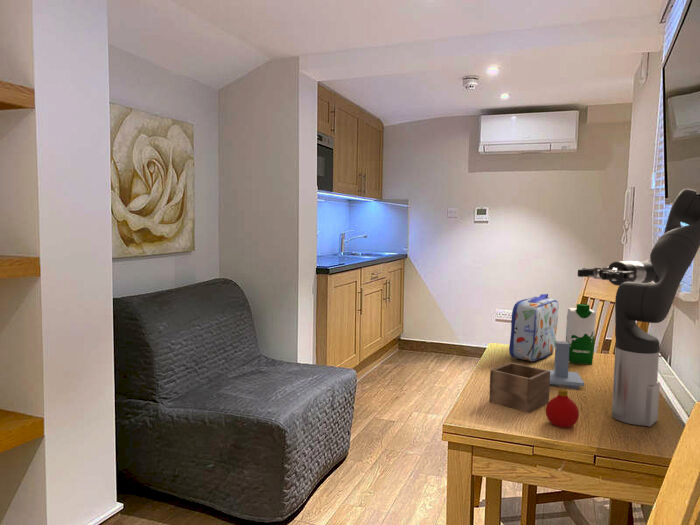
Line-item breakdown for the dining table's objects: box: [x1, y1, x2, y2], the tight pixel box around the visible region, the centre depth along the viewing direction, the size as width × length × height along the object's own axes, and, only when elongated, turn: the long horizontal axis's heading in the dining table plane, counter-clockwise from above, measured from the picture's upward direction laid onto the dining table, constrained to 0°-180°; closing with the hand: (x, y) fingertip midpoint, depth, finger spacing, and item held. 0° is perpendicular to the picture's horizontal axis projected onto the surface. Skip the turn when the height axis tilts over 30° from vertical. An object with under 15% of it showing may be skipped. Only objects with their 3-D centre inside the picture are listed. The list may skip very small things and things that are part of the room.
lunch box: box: [508, 293, 559, 362], centre depth 185 cm, size 28×10×22 cm, turn 143°
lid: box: [548, 340, 585, 390], centre depth 154 cm, size 11×11×12 cm
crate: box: [488, 362, 551, 414], centre depth 135 cm, size 11×11×9 cm
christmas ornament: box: [545, 385, 580, 429], centre depth 121 cm, size 7×7×10 cm
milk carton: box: [565, 303, 597, 365], centre depth 179 cm, size 9×9×20 cm
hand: (590, 274), depth 157 cm, fingers open, 8 cm apart
